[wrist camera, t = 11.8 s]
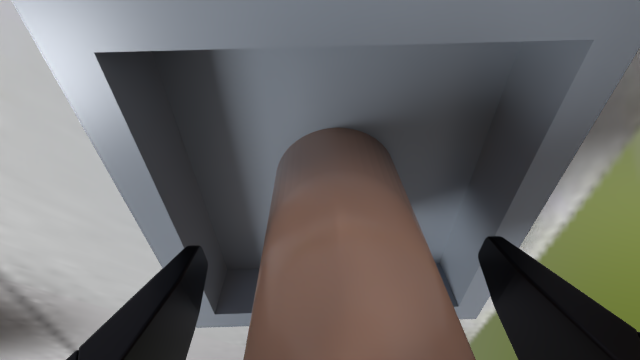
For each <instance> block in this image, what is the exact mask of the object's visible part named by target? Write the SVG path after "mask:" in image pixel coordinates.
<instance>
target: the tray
mask: <svg viewBox="0 0 640 360" xmlns="http://www.w3.org/2000/svg"><path fill="white" fill-rule="evenodd" d="M11 1H12V3H13V5H14V6H15V8H16V10H17V12H18V13H19V15H20V17H21V19H22V21H23V22H24V24H25V26H26V28H27V29H28V31H29V33H30V35H31V36H32V38H33V40H34V42H35V43H36V45H37V47H38V49H39V51H40V52H41V54H42V56H43V58H44V59H45V61H46V63H47V65H48V66H49V68H50V70H51V72H52V74H53V75H54V77H55V79H56V81H57V82H58V84H59V86H60V88H61V89H62V91H63V93H64V95H65V96H66V98H67V100H68V102H69V104H70V105H71V107H72V109H73V111H74V112H75V114H76V116H77V118H78V119H79V121H80V123H81V125H82V127H83V128H84V130H85V132H86V134H87V135H88V137H89V139H90V141H91V142H92V144H93V146H94V148H95V149H96V151H97V153H98V155H99V157H100V158H101V160H102V162H103V164H104V165H105V167H106V169H107V171H108V172H109V174H110V176H111V178H112V180H113V181H114V183H115V185H116V187H117V188H118V190H119V192H120V194H121V195H122V197H123V199H124V201H125V202H126V204H127V206H128V208H129V210H130V211H131V213H132V215H133V217H134V218H135V220H136V222H137V224H138V225H139V227H140V229H141V231H142V233H143V234H144V236H145V238H146V240H147V241H148V243H149V245H150V247H151V248H152V250H153V252H154V254H155V255H156V257H157V259H158V261H159V263H160V264H161V266H162V268H164V267H165V266H166V265H167V264H168V263H169V262H170V261H171V260H172V259H173V258H174V257H175V256H176V255H177V254H178V253H180V252H181V251H182V250H183V249H184V248H185V247H186V246H189V245H200V246H201V247H202V248H203V251H204V253H205V256H206V258H207V261H208V271H207V276H206V281H205V287H204V292H203V297H202V303H201V308H200V313H199V317H198V320H197V324H196V328H202V327H233V326H250V320H251V314H252V309H253V303H254V297H255V292H256V286H257V280H258V274H259V269H260V263H261V257H262V251H263V246H264V240H265V234H266V229H267V223H268V217H269V211H270V206H271V200H272V194H273V189H274V183H275V177H276V171H277V168H278V164H279V162H280V160H281V158H282V156H283V155H284V153H285V152H286V150H287V149H288V148H289V147H290V146H291V145H292V144H293V143H295V142H296V141H297V140H299V139H300V138H302V137H303V136H305V135H308V134H310V133H312V132H315V131H318V130H322V129H327V128H348V129H354V130H358V131H361V132H364V133H366V134H368V135H370V136H372V137H374V138H375V139H377V140H378V141H379V142H380V143H381V144H382V145H383V146H384V147H385V148H386V149H387V151H388V152H389V154H390V156H391V158H392V160H393V163H394V165H395V167H396V170H397V172H398V175H399V177H400V179H401V182H402V184H403V187H404V189H405V191H406V194H407V196H408V199H409V201H410V203H411V206H412V208H413V211H414V213H415V215H416V218H417V220H418V223H419V225H420V227H421V230H422V232H423V235H424V237H425V239H426V242H427V244H428V247H429V249H430V251H431V254H432V256H433V259H434V261H435V263H436V266H437V268H438V271H439V273H440V275H441V278H442V280H443V283H444V285H445V287H446V290H447V292H448V295H449V297H450V299H451V302H452V304H453V307H454V309H455V311H456V314H457V316H458V319H476V318H477V316H478V315H479V313H480V311H481V310H482V308H483V306H484V305H485V303H486V301H487V300H488V298H489V297H490V293H489V290H488V287H487V284H486V281H485V278H484V275H483V272H482V269H481V266H480V263H479V260H478V252H479V250H480V248H481V246H482V244H483V242H484V240H485V238H486V237H488V236H501V237H503V238H505V239H506V240H507V241H509V242H510V243H512V244H513V245H515V246H516V247H518V248H519V247H520V245H521V243H522V242H523V240H524V239H525V237H526V235H527V234H528V232H529V230H530V229H531V227H532V225H533V224H534V222H535V220H536V219H537V217H538V215H539V214H540V212H541V210H542V209H543V207H544V205H545V204H546V202H547V200H548V199H549V197H550V195H551V194H552V192H553V190H554V189H555V187H556V185H557V184H558V182H559V181H560V179H561V177H562V176H563V174H564V172H565V171H566V169H567V167H568V166H569V164H570V162H571V161H572V159H573V157H574V156H575V154H576V152H577V151H578V149H579V147H580V146H581V144H582V142H583V141H584V139H585V137H586V136H587V134H588V132H589V131H590V129H591V127H592V126H593V124H594V123H595V121H596V119H597V118H598V116H599V114H600V113H601V111H602V109H603V108H604V106H605V104H606V103H607V101H608V99H609V98H610V96H611V94H612V93H613V91H614V89H615V88H616V86H617V84H618V83H619V81H620V79H621V78H622V76H623V74H624V73H625V71H626V69H627V68H628V66H629V65H630V63H631V61H632V60H633V58H634V56H635V55H636V53H637V51H638V50H639V48H640V0H11Z"/></svg>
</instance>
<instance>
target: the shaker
mask: <svg viewBox="0 0 640 360" xmlns="http://www.w3.org/2000/svg"><path fill="white" fill-rule="evenodd" d="M244 360H476V359H475V357H474V354H473V352H472V350H471V347H470V345H469V342H468V340H467V338H466V335H465V333H464V330H463V328H462V326H461V323H460V321H459V319H458V316H457V314H456V311H455V309H454V307H453V304H452V302H451V299H450V297H449V295H448V292H447V290H446V287H445V285H444V283H443V280H442V278H441V275H440V273H439V271H438V268H437V266H436V263H435V261H434V259H433V256H432V254H431V251H430V249H429V247H428V244H427V242H426V239H425V237H424V235H423V232H422V230H421V227H420V225H419V223H418V220H417V218H416V215H415V213H414V211H413V208H412V206H411V203H410V201H409V199H408V196H407V194H406V191H405V189H404V187H403V184H402V182H401V179H400V177H399V175H398V172H397V170H396V167H395V165H394V163H393V160H392V158H391V156H390V154H389V152H388V151H387V149H386V148H385V147H384V146H383V145H382V144H381V143H380V142H379V141H378V140H377V139H375V138H374V137H372V136H370V135H368V134H366V133H364V132H361V131H358V130H354V129H348V128H327V129H322V130H318V131H315V132H312V133H310V134H308V135H305V136H303V137H302V138H300V139H299V140H297V141H296V142H295V143H293V144H292V145H291V146H290V147H289V148H288V149H287V150H286V152H285V153H284V155H283V156H282V158H281V160H280V162H279V164H278V168H277V171H276V177H275V183H274V189H273V194H272V200H271V206H270V211H269V217H268V223H267V229H266V234H265V240H264V246H263V251H262V257H261V263H260V269H259V274H258V280H257V286H256V292H255V297H254V303H253V309H252V314H251V320H250V326H249V332H248V337H247V343H246V349H245V354H244Z"/></svg>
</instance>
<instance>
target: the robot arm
mask: <svg viewBox="0 0 640 360" xmlns="http://www.w3.org/2000/svg"><path fill="white" fill-rule="evenodd" d="M478 260H479V263H480V266H481V269H482V272H483V275H484V278H485V281H486V284H487V287H488V290H489V293H490V296H491V299H492V302H493V304H494V307H495V309H496V311H497V314H498V316H499V318H500V320H501V322H502V325H503V327H504V329H505V331H506V333H507V336H508V338H509V340H510V342H511V344H512V346H513V349H514V351H515V353H516V355H517V357H518V360H640V332H637V331H636V329H634V328H633V327H631V326H630V325H629V324H627V323H626V322H624V321H623V320H621V319H620V318H619V317H617V316H616V315H614V314H613V313H611V312H610V311H608V310H607V309H605V308H604V307H603V306H601V305H600V304H598V303H597V302H595V301H594V300H593V299H591V298H590V297H588V296H587V295H585V294H584V293H582V292H581V291H580V290H578V289H577V288H575V287H574V286H572V285H571V284H570V283H568V282H567V281H565V280H564V279H562V278H561V277H559V276H558V275H557V274H555V273H553V272H552V271H550V270H549V269H548V268H546V267H545V266H543V265H542V264H541V263H539V262H538V261H536V260H535V259H533V258H532V257H531V256H529V255H528V254H526V253H525V252H523V251H522V250H520V249H519V248H518V247H516V246H515V245H513V244H512V243H510V242H509V241H507V240H506V239H505V238H503V237H501V236H488V237H486V238H485V240H484V242H483V244H482V246H481V248H480V250H479V252H478ZM207 271H208V261H207V258H206V256H205V253H204V251H203V248H202V247H201V246H200V245H189V246H186V247H185V248H184V249H183V250H182V251H181V252H180V253H178V254H177V255H176V256H175V257H174V258H173V259H172V260H171V261H170V262H169V263H168V264H167V265H166V266H165V267H164V268H163V269H162V270H161V271H159V272H158V273H157V274H156V275H155V276H154V277H153V278H152V279H151V280H150V281H149V282H148V283H147V284H146V285H145V286H144V287H143V288H142V289H140V290H139V291H138V292H137V293H136V294H135V295H134V296H133V297H132V298H131V299H130V300H129V301H128V302H127V303H126V304H125V305H124V306H123V307H121V308H120V309H119V310H118V311H117V312H116V313H115V314H114V315H113V316H112V317H111V318H110V319H109V320H108V321H107V322H106V323H105V324H104V325H102V326H101V327H100V328H99V329H98V330H97V331H96V332H95V333H94V334H93V335H92V336H91V337H90V338H89V339H88V340H87V341H86V342H85V343H83V344H82V345H81V346H80V347H79V350H76V351H75V352H74V353H73V354H72V355H71V356H70V357H69V358H67V359H66V360H186V357H187V354H188V350H189V347H190V344H191V340H192V337H193V334H194V331H195V327H196V324H197V320H198V317H199V313H200V308H201V303H202V297H203V292H204V287H205V281H206V276H207Z"/></svg>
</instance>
